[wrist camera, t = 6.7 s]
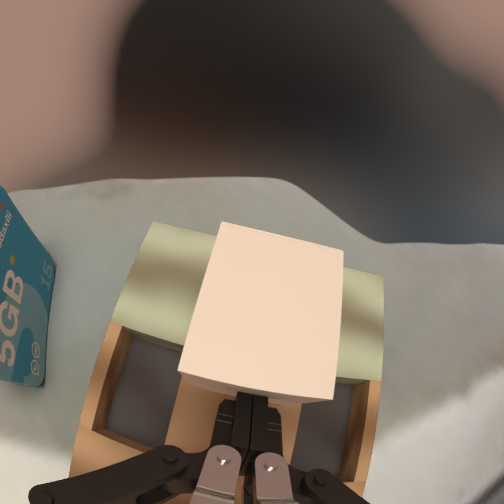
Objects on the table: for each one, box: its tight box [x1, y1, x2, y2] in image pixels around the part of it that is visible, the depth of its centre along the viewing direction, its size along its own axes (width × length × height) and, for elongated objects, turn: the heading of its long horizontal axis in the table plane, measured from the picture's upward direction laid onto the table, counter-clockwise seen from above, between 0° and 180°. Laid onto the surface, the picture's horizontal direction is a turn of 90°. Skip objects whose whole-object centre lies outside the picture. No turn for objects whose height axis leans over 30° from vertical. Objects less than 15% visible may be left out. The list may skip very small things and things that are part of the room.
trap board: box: [69, 221, 384, 504], centre depth 17 cm, size 26×20×3 cm
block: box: [177, 222, 343, 405], centre depth 15 cm, size 7×6×8 cm
